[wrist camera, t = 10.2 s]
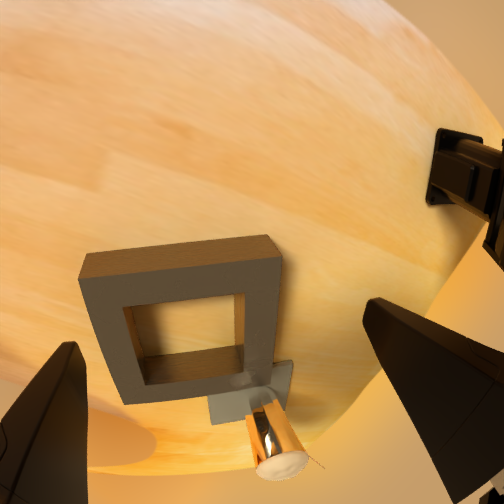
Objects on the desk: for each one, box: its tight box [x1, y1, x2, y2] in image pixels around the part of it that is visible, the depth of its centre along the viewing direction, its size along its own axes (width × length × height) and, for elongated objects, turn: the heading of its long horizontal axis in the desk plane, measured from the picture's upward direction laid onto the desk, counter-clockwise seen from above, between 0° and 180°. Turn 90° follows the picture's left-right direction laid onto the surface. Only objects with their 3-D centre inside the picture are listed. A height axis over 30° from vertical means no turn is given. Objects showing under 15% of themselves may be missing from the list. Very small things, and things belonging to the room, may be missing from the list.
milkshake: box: [241, 386, 324, 481], centre depth 25 cm, size 4×5×10 cm
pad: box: [207, 360, 293, 425], centre depth 30 cm, size 8×8×1 cm
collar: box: [78, 235, 282, 405], centre depth 22 cm, size 12×12×3 cm
